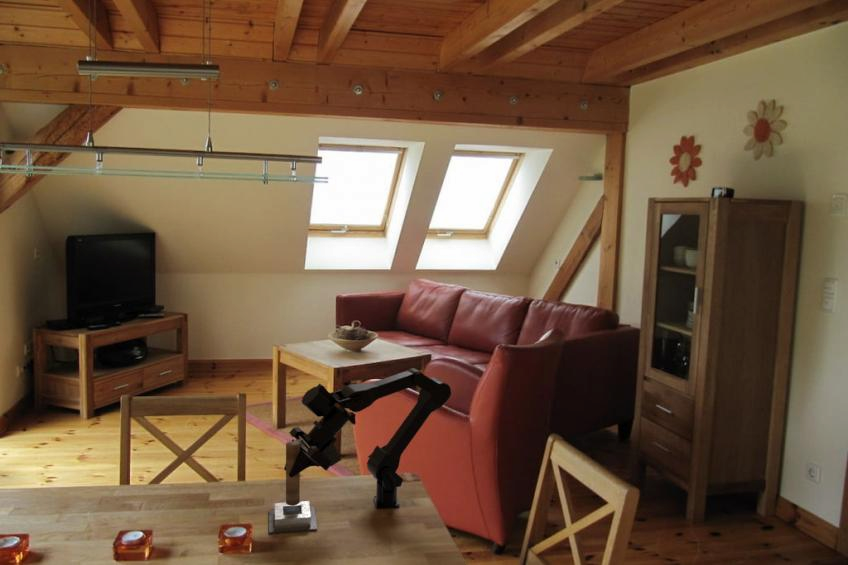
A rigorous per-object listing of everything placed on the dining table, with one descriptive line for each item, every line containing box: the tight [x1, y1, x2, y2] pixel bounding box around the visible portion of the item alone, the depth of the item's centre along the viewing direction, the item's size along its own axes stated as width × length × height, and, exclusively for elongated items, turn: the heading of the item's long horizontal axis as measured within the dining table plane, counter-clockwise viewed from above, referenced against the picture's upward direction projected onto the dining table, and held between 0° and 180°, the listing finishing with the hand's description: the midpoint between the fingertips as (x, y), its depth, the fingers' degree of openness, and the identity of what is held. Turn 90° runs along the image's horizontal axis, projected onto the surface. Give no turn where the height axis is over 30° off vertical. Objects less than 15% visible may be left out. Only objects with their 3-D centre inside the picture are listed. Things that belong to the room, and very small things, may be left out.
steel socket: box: [268, 500, 318, 535], centre depth 183 cm, size 12×12×3 cm
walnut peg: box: [285, 440, 301, 505], centre depth 182 cm, size 4×4×16 cm
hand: (287, 473), depth 181 cm, fingers closed on walnut peg, 3 cm apart
